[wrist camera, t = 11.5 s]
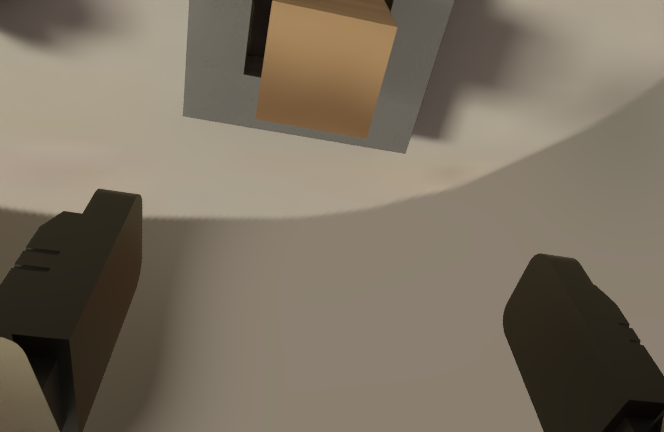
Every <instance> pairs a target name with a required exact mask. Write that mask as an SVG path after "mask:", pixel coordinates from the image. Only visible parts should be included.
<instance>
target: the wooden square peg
mask: <svg viewBox="0 0 664 432" xmlns="http://www.w3.org/2000/svg"><path fill="white" fill-rule="evenodd" d="M397 28H398V27H397V25H396V23H395V21H394V19H393V17H392V15H391V13H390V11H389V9H388V7H387V5H386V3H385V1H384V0H272V6H271V12H270V19H269V26H268V33H267V40H266V47H265V54H264V61H263V68H262V75H261V82H260V89H259V96H258V103H257V110H256V116H255V119H257V120H263V121H269V122H274V123H280V124H285V125H291V126H297V127H302V128H308V129H314V130H319V131H325V132H330V133H336V134H342V135H347V136H353V137H359V138H364V139H367V136H368V132H369V128H370V125H371V121H372V118H373V114H374V110H375V107H376V103H377V100H378V96H379V92H380V89H381V85H382V82H383V78H384V74H385V71H386V67H387V64H388V60H389V57H390V53H391V49H392V46H393V42H394V39H395V35H396V31H397Z"/></svg>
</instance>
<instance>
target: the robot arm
mask: <svg viewBox="0 0 664 432" xmlns="http://www.w3.org/2000/svg"><path fill="white" fill-rule="evenodd" d="M141 263H142V198H141V195H139V194H132V193H125V192H118V191H111V190H104V189H98V190H97V191H96V192H95V193H94V195H93V197H92V198H91V200H90V202H89V204H88V205H87V207H86V209H85V210H84V212H83V214H80V213H73V212H66V211H63V212H62V213H60V214H59V215H57V216H56V217H54V218H52V219H51V220H49V221H48V222H46V223H45V224H43V225H42V226H40V227H39V229H38V230H37V232H36V233H35V235H34V236H33V238H32V239H31V240H30V242H29V244H28V245H27V246H26V251H23V252H22V254H21V255H20V257H19V258H18V260H17V261H16V263H15V267H14V268H11V270H10V271H9V273H8V274H7V276H6V277H5V279H4V280H3V282H2V284H1V285H0V432H83V430H84V427H85V424H86V422H87V419H88V416H89V414H90V411H91V408H92V406H93V403H94V400H95V398H96V395H97V392H98V390H99V387H100V384H101V381H102V379H103V376H104V373H105V371H106V368H107V365H108V363H109V360H110V357H111V355H112V352H113V349H114V347H115V344H116V341H117V339H118V336H119V333H120V331H121V328H122V325H123V323H124V320H125V317H126V315H127V312H128V309H129V307H130V304H131V301H132V299H133V296H134V293H135V290H136V288H137V284H138V280H139V276H140V269H141ZM503 328H504V333H505V336H506V338H507V340H508V343H509V346H510V348H511V351H512V353H513V356H514V358H515V361H516V363H517V366H518V368H519V371H520V373H521V376H522V378H523V381H524V383H525V386H526V388H527V391H528V393H529V396H530V398H531V401H532V403H533V406H534V408H535V410H536V413H537V416H538V418H539V421H540V423H541V426H542V428H543V431H544V432H664V376H663V374H662V373H661V371H660V370H659V368H658V367H657V365H656V364H655V362H654V361H653V359H652V357H651V356H650V355H649V353H648V352H647V350H646V348H645V347H644V346H643V345H640V339H639V338H638V336H637V335H636V333H635V332H634V330H633V329H632V328H629V323H628V321H627V320H626V318H625V317H624V315H623V314H622V312H621V311H620V309H619V308H618V306H617V305H616V304H615V303H614V302H613V301H612V300H611V299H610V298H609V297H608V296H607V295H606V294H605V293H603V292H602V291H601V290H600V289H599V288H598V287H597V286H595V285H593V283H592V282H591V280H590V279H589V277H588V276H587V274H586V272H585V271H584V269H583V268H582V266H581V265H580V263H579V262H578V261H577V260H576V259H573V258H568V257H560V256H554V255H547V254H537V255H535V256H534V257H533V258H532V259H531V260H530V262H529V264H528V266H527V268H526V269H525V271H524V273H523V275H522V277H521V279H520V280H519V282H518V284H517V286H516V288H515V290H514V292H513V294H512V295H511V297H510V299H509V301H508V302H507V305H506V307H505V310H504V315H503Z"/></svg>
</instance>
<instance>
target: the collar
mask: <svg viewBox="0 0 664 432" xmlns="http://www.w3.org/2000/svg"><path fill="white" fill-rule="evenodd" d="M384 1H385V3H386V5H387V7H388V9H389V11H390V13H391V15H392V17H393V19H394V21H395V23H396V25H397V27H398V28H397V31H396V35H395V39H394V42H393V46H392V49H391V53H390V57H389V60H388V64H387V67H386V71H385V74H384V78H383V82H382V85H381V89H380V92H379V96H378V100H377V103H376V107H375V110H374V114H373V118H372V121H371V125H370V128H369V132H368V136H367V139H364V138H359V137H353V136H347V135H342V134H336V133H330V132H325V131H319V130H314V129H308V128H302V127H297V126H291V125H285V124H280V123H274V122H269V121H263V120H257V119H255V116H256V110H257V103H258V96H259V89H260V82H261V75H262V68H263V61H264V58H263V57H258V56H253V55H249V48H250V40H251V32H252V23H253V15H254V7H255V0H189V16H188V35H187V53H186V71H185V89H184V108H183V116H185V117H191V118H197V119H203V120H209V121H215V122H221V123H227V124H233V125H238V126H244V127H250V128H256V129H262V130H268V131H274V132H280V133H286V134H292V135H298V136H304V137H309V138H315V139H321V140H327V141H333V142H339V143H345V144H351V145H357V146H363V147H369V148H374V149H380V150H386V151H392V152H398V153H404V154H405V153H406V150H407V147H408V144H409V141H410V138H411V135H412V131H413V128H414V125H415V122H416V119H417V116H418V113H419V110H420V107H421V103H422V100H423V97H424V94H425V91H426V88H427V85H428V82H429V79H430V75H431V72H432V69H433V66H434V63H435V60H436V57H437V54H438V51H439V47H440V44H441V41H442V38H443V35H444V32H445V29H446V26H447V23H448V19H449V16H450V13H451V10H452V7H453V4H454V1H455V0H384Z"/></svg>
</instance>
